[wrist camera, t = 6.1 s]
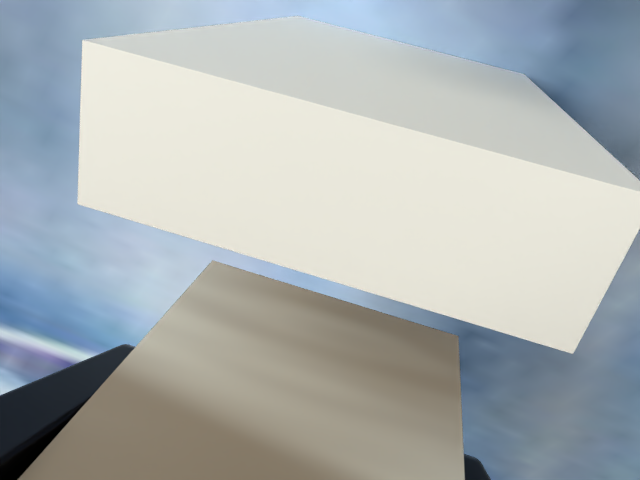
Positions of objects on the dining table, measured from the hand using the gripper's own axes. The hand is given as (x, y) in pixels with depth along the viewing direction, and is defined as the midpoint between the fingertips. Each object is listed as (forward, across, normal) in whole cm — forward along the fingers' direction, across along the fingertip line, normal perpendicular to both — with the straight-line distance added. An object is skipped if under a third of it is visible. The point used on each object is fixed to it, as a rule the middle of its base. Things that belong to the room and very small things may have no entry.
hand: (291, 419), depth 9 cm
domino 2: (+6, 0, -5) cm, 8 cm away
